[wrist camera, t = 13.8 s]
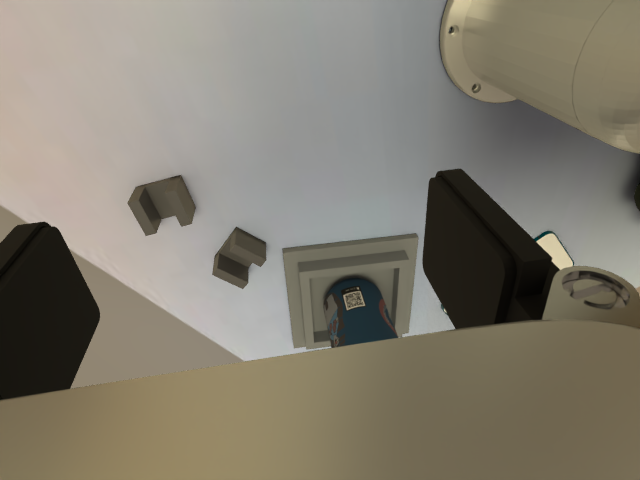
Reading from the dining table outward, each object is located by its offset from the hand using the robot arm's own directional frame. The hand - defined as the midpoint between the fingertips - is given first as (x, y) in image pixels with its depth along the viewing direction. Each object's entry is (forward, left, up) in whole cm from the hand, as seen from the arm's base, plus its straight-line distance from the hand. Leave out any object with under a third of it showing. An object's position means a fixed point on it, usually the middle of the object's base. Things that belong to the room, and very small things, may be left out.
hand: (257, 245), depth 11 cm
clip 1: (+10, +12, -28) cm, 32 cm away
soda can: (-8, +27, -28) cm, 39 cm away
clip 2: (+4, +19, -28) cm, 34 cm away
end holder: (-8, +27, -28) cm, 40 cm away
